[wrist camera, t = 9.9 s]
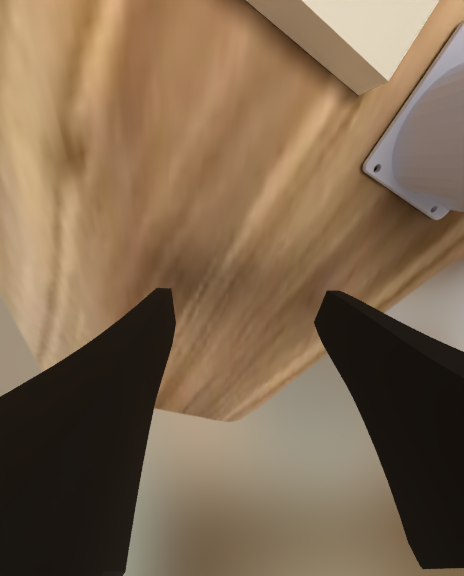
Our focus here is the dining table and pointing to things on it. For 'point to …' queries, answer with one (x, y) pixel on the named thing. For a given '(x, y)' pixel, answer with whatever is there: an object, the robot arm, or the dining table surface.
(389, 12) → the socket board
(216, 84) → the dining table surface
